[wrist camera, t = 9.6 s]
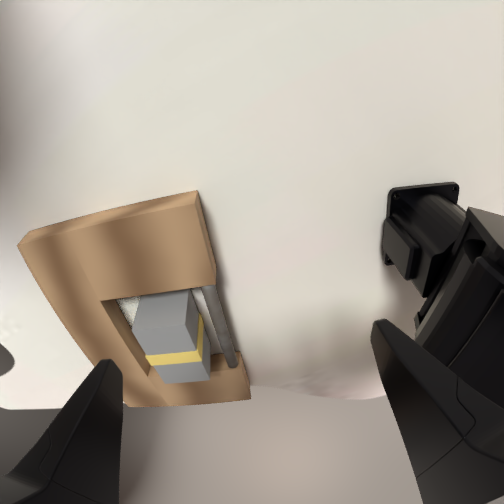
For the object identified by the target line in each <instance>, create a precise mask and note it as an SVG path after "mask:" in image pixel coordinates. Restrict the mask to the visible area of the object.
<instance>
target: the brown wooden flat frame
mask: <svg viewBox="0 0 504 504" xmlns="http://www.w3.org/2000/svg"><path fill="white" fill-rule="evenodd" d="M17 247H18V249H19V251H20V253H21V255H22V256H23V258H24V260H25V262H26V264H27V266H28V268H29V269H30V271H31V273H32V275H33V277H34V278H35V280H36V282H37V284H38V285H39V287H40V289H41V290H42V292H43V294H44V295H45V297H46V298H47V300H48V302H49V303H50V305H51V306H52V308H53V310H54V311H55V313H56V314H57V316H58V317H59V319H60V320H61V322H62V323H63V325H64V326H65V328H66V329H67V330H68V332H69V333H70V335H71V336H72V338H73V339H74V340H75V342H76V343H77V344H78V346H79V347H80V348H81V350H82V351H83V352H84V354H85V355H86V356H87V358H88V359H89V360H90V362H91V363H92V364H93V365H94V367H95V366H96V365H97V364H98V362H99V361H100V360H102V359H112V360H113V361H114V362H115V364H116V365H117V366H118V368H119V369H120V370H121V372H122V374H123V401H124V402H125V403H126V404H127V405H128V406H129V407H159V406H182V405H197V404H198V405H199V404H211V403H221V402H231V401H240V400H248V399H251V394H250V384H249V380H248V377H247V374H246V370H245V367H244V363H243V360H242V357H241V353H240V351H238V352H235V350H234V347H233V344H232V340H231V337H230V334H229V331H228V327H227V324H226V321H225V317H224V314H223V310H222V307H221V304H220V300H219V297H218V293H217V290H216V286H215V284H216V263H215V259H214V255H213V251H212V248H211V244H210V240H209V236H208V232H207V228H206V224H205V220H204V216H203V212H202V208H201V204H200V199H199V195H198V191H197V190H196V191H191V192H186V193H181V194H176V195H171V196H166V197H162V198H157V199H153V200H148V201H143V202H139V203H135V204H130V205H126V206H122V207H118V208H114V209H109V210H105V211H101V212H97V213H94V214H90V215H86V216H82V217H78V218H75V219H71V220H67V221H64V222H60V223H56V224H53V225H49V226H46V227H43V228H39V229H36V230H32V231H29V232H28V233H27V234H26V235H25V237H24V238H23V239H22V240H21V241H20V242H19V244H18V245H17ZM195 287H201V289H202V292H203V295H204V298H205V301H206V304H207V307H208V310H209V313H210V316H211V319H212V322H213V325H214V328H215V331H216V334H217V337H218V340H219V342H220V345H221V348H222V351H223V354H215V355H210V380H207V381H196V382H185V383H171V384H165V383H164V382H163V380H162V379H161V377H160V376H159V374H158V372H157V371H156V369H155V368H154V366H151V365H150V363H149V362H148V360H147V359H146V357H145V356H146V354H145V352H144V350H143V349H142V347H141V346H140V344H139V342H138V341H137V339H136V337H135V336H134V334H133V332H132V329H131V328H130V326H129V324H128V322H127V321H126V319H125V317H124V315H123V314H122V312H121V310H120V308H119V306H118V304H117V302H116V301H115V299H117V298H125V297H132V296H139V295H147V294H154V293H161V292H168V291H174V290H181V289H188V288H195Z"/></svg>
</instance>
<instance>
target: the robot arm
mask: <svg viewBox="0 0 504 504" xmlns="http://www.w3.org/2000/svg"><path fill="white" fill-rule="evenodd" d="M453 188H454V189H453ZM396 193H397V196H396V197H394V195H395V194H396ZM458 195H459V185H458V184H456V183H455V182H445V183H434V184H424V185H415V186H405V187H396V188H392V189H391V190H390V191H389V194H388V207H387V217H386V219H385V223H384V234H383V245H382V248H383V249H384V251H383V261H384V263H385V264H386V265H395V266H396V267H397V269H398V270H399V272H400V273H401V275H402V276H403V278H404V279H406V280H407V281H408V280H411V281H412V282H413V284H414V285H415V287H416V288H417V290H418V291H419V293H420V294H421V296H422V297H423V298H426V297H427V299H426V301H425V303H424V305H423V306H422V308H421V310H420V312H418V313H417V314H416V316H415V318H414V321H415V326H416V335H415V341H414V340H412V339H411V338H410V337H409V336H407V335H406V334H405V333H404V332H402V331H401V330H400V329H399V328H397V327H396V326H395V325H393V324H392V323H391V322H390V321H388V320H387V319H380V320H376V321H374V323H373V327H372V332H371V344H372V348H373V351H374V355H375V359H376V362H377V366H378V370H379V374H380V377H381V381H382V384H383V387H384V389H385V392H386V394H387V397H388V400H389V402H390V405H391V408H392V410H393V413H394V416H395V418H396V421H397V424H398V426H399V429H400V432H401V435H402V438H403V441H404V444H405V447H406V450H407V453H408V455H409V459H410V461H411V465H412V468H413V471H414V474H415V477H416V481H417V484H418V487H419V491H420V494H421V498H422V501H423V504H504V216H501V215H498V214H494V213H491V212H487V211H483V210H480V209H476V208H472V207H468V209H467V211H465V210H464V209H463V208H461V207H460V206H459V205H458V204H457V201H458ZM389 258H390V259H389ZM388 259H389V260H388ZM122 422H123V374H122V372H121V370H120V369H119V368H118V366H117V365H116V364H115V362H114V361H113V360H112V359H102V360H100V361H99V362H98V364H97V365H96V366H95V367H94V369H93V370H92V371H91V372H90V374H89V375H88V376H87V377H86V379H85V380H84V381H83V382H82V384H81V385H80V386H79V387H78V389H77V390H76V391H75V392H74V394H73V395H72V396H71V398H70V399H69V400H68V401H67V403H66V404H65V405H64V407H63V408H62V409H61V411H60V412H59V413H58V414H57V416H56V417H55V418H54V420H53V421H52V423H51V424H50V425H49V428H47V429H46V430H45V432H44V433H43V434H42V436H41V437H40V438H39V440H38V441H37V442H36V443H35V444H34V446H33V447H32V448H31V449H30V450H29V451H28V453H27V454H26V455H25V456H24V457H23V458H22V459H21V460H20V462H19V463H18V464H17V465H16V466H15V467H14V469H12V470H11V471H10V472H9V473H7V474H5V475H3V476H0V504H119V470H120V450H121V435H122Z"/></svg>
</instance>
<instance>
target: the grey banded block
mask: <svg viewBox="0 0 504 504" xmlns="http://www.w3.org/2000/svg"><path fill="white" fill-rule="evenodd" d="M203 324H204V323H203V320H202V317H201V314H200V313H199V312H198V310H197V307H196V304H195V301H194V299H193V296H192V293H191V290H190V288H188V289H181V290H174V291H168V292H161V293H154V294H147V295H141V297H140V301H139V304H138V308H137V312H136V315H135V319H134V323H133V327H132V332H133V334H134V336H135V337H136V339H137V341H138V342H139V344H140V346H141V347H142V349H143V350H144V352H145V354H146V356H145V357H146V359H147V360H148V362H149V363H150V365H151V366H154V368H155V369H156V371H157V372H158V374H159V376H160V377H161V379H162V380H163V382H164V383H165V384H171V383H185V382H196V381H207V380H210V349H211V344H210V341H209V339H208V336H207V334H206V331H205V328H204V326H203Z"/></svg>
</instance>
